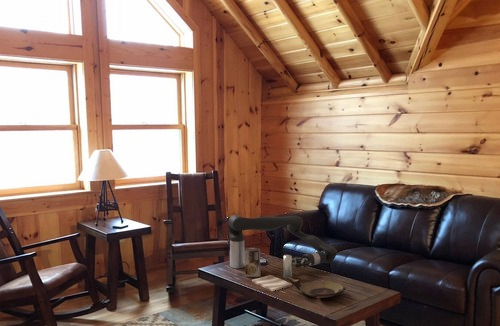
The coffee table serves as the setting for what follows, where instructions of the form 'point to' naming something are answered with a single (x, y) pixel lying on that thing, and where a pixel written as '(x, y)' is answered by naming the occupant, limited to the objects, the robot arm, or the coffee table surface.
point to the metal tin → (287, 266)
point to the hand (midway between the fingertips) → (291, 264)
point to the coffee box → (252, 262)
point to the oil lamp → (319, 288)
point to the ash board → (271, 283)
